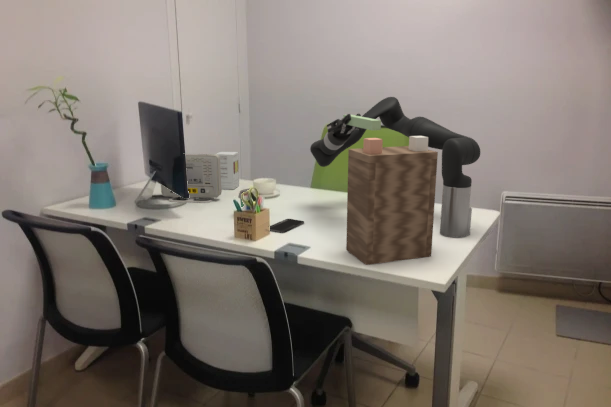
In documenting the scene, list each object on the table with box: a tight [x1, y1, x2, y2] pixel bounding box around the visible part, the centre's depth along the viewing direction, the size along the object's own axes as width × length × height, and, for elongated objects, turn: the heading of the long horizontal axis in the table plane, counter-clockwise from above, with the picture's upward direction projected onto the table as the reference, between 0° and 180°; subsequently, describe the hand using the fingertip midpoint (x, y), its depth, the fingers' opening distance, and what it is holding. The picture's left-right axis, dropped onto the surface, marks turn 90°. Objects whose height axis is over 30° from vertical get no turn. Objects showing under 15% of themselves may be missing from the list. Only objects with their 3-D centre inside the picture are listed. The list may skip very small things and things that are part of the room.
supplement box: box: [216, 151, 240, 190], centre depth 254 cm, size 10×9×17 cm
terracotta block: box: [362, 137, 384, 154], centre depth 152 cm, size 4×4×4 cm
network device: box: [160, 153, 222, 204], centre depth 228 cm, size 26×9×20 cm, turn 84°
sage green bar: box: [342, 114, 382, 131], centre depth 175 cm, size 3×22×3 cm, turn 20°
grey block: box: [408, 136, 429, 151], centre depth 157 cm, size 4×4×4 cm
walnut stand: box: [345, 145, 439, 266], centre depth 161 cm, size 22×14×32 cm, turn 110°
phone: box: [269, 218, 305, 234], centre depth 192 cm, size 8×1×15 cm
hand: (354, 116), depth 179 cm, fingers closed on sage green bar, 3 cm apart
